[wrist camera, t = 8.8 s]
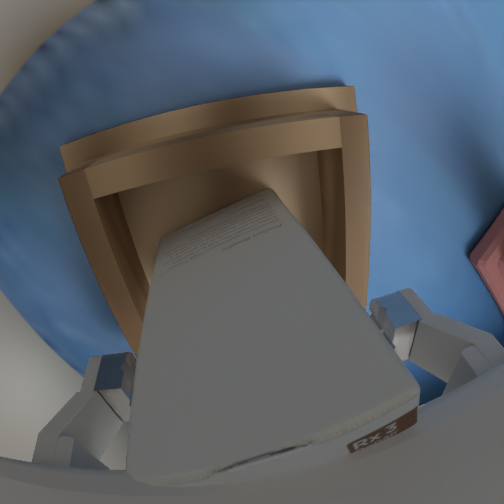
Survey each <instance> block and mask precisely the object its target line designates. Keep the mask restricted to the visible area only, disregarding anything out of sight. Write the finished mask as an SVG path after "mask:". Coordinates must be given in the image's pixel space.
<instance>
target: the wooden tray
mask: <svg viewBox="0 0 504 504" xmlns="http://www.w3.org/2000/svg"><path fill="white" fill-rule="evenodd" d="M59 148H60V151H61V155H62V159H63V162H64V165H65V169H66V172H67V173H65V174H64V175H62V176H61V177H60V178H58V180H59V183H60V186H61V189H62V192H63V195H64V198H65V201H66V204H67V207H68V209H69V212H70V215H71V218H72V220H73V223H74V226H75V228H76V231H77V234H78V236H79V239H80V241H81V244H82V246H83V249H84V251H85V253H86V256H87V258H88V261H89V263H90V265H91V268H92V270H93V272H94V274H95V277H96V279H97V281H98V283H99V285H100V287H101V290H102V292H103V294H104V296H105V298H106V300H107V302H108V304H109V306H110V308H111V310H112V312H113V314H114V316H115V318H116V320H117V322H118V324H119V326H120V328H121V330H122V332H123V334H124V335H125V337H126V339H127V341H128V343H129V345H130V347H131V348H132V350H133V352H134V354H135V355H136V357H137V356H138V350H139V344H140V338H141V332H142V326H143V319H144V314H145V309H146V304H147V298H148V293H149V288H150V284H151V278H152V273H153V269H154V264H155V259H156V255H157V251H158V246H159V242H160V239H161V238H162V237H164V236H166V235H168V234H170V233H172V232H174V231H177V230H179V229H181V228H183V227H185V226H187V225H189V224H191V223H193V222H195V221H197V220H199V219H202V218H204V217H206V216H208V215H210V214H212V213H214V212H216V211H219V210H221V209H223V208H225V207H227V206H229V205H232V204H234V203H236V202H238V201H240V200H243V199H245V198H247V197H249V196H252V195H254V194H256V193H258V192H260V191H263V190H265V189H267V188H271V189H273V190H274V191H275V193H276V194H277V195H278V196H279V198H280V199H281V200H282V202H283V203H284V204H285V205H286V207H287V208H288V209H289V210H290V212H291V213H292V214H293V215H294V217H295V218H296V219H297V220H298V222H299V223H300V224H301V225H302V227H303V228H304V229H305V230H306V232H307V233H308V234H309V235H310V237H311V238H312V239H313V241H314V242H315V243H316V244H317V246H318V247H319V248H320V250H321V251H322V252H323V254H324V255H325V256H326V258H327V259H328V260H329V262H330V263H331V264H332V266H333V267H334V268H335V270H336V271H337V272H338V274H339V275H340V276H341V278H342V279H343V280H344V282H345V283H346V284H347V286H348V287H349V288H350V290H351V291H352V292H353V294H354V295H355V297H356V298H357V299H358V301H359V302H360V303H361V305H362V306H363V308H364V309H365V310H366V304H367V291H368V276H369V257H370V224H371V185H370V152H369V134H368V119H367V115H366V114H362V113H357V108H356V98H355V88H354V86H338V87H322V88H309V89H298V90H289V91H280V92H272V93H264V94H257V95H250V96H244V97H238V98H232V99H226V100H221V101H215V102H210V103H205V104H200V105H196V106H191V107H187V108H182V109H178V110H174V111H170V112H165V113H162V114H158V115H154V116H150V117H146V118H143V119H139V120H136V121H132V122H129V123H125V124H122V125H119V126H116V127H112V128H109V129H106V130H103V131H100V132H97V133H94V134H91V135H88V136H86V137H83V138H80V139H77V140H75V141H72V142H69V143H67V144H64V145H62V146H60V147H59Z"/></svg>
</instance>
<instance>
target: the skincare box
mask: <svg viewBox="0 0 504 504" xmlns="http://www.w3.org/2000/svg"><path fill="white" fill-rule="evenodd" d="M419 396H420V387H419V385H418V383H417V381H416V380H415V378H414V377H413V376H412V374H411V373H410V371H409V370H408V369H407V367H406V366H405V364H404V363H403V361H402V360H401V359H400V357H399V356H398V354H397V353H396V352H395V350H394V349H393V348H392V346H391V345H390V343H389V342H388V341H387V339H386V338H385V336H384V335H383V334H382V332H381V331H380V330H379V328H378V327H377V325H376V324H375V323H374V321H373V320H372V319H371V317H370V316H369V314H368V313H367V312H366V310H365V309H364V308H363V306H362V305H361V303H360V302H359V301H358V299H357V298H356V297H355V295H354V294H353V292H352V291H351V290H350V288H349V287H348V286H347V284H346V283H345V282H344V280H343V279H342V278H341V276H340V275H339V274H338V272H337V271H336V270H335V268H334V267H333V266H332V264H331V263H330V262H329V260H328V259H327V258H326V256H325V255H324V254H323V252H322V251H321V250H320V248H319V247H318V246H317V244H316V243H315V242H314V241H313V239H312V238H311V237H310V235H309V234H308V233H307V232H306V230H305V229H304V228H303V227H302V225H301V224H300V223H299V222H298V220H297V219H296V218H295V217H294V215H293V214H292V213H291V212H290V210H289V209H288V208H287V207H286V205H285V204H284V203H283V202H282V200H281V199H280V198H279V196H278V195H277V194H276V193H275V191H274V190H273V189H271V188H267V189H265V190H263V191H260V192H258V193H256V194H254V195H252V196H249V197H247V198H245V199H243V200H240V201H238V202H236V203H234V204H232V205H229V206H227V207H225V208H223V209H221V210H219V211H216V212H214V213H212V214H210V215H208V216H206V217H204V218H202V219H199V220H197V221H195V222H193V223H191V224H189V225H187V226H185V227H183V228H181V229H179V230H177V231H174V232H172V233H170V234H168V235H166V236H164V237H162V238H161V239H160V242H159V246H158V251H157V255H156V259H155V264H154V269H153V273H152V278H151V284H150V288H149V293H148V298H147V304H146V309H145V314H144V319H143V326H142V332H141V338H140V344H139V350H138V356H137V363H136V369H135V377H134V386H133V394H132V401H131V411H130V423H129V433H128V444H127V456H126V470H125V471H126V472H127V473H128V474H130V475H131V476H132V477H133V478H134V480H136V481H140V482H143V483H146V484H149V485H153V486H161V487H189V486H203V485H213V484H221V483H229V482H237V481H244V480H250V479H256V478H261V477H266V476H271V475H276V474H281V473H285V472H290V471H294V470H298V469H302V468H306V467H309V466H313V465H316V464H320V463H323V462H326V461H330V460H333V459H336V458H339V457H342V456H345V455H348V454H351V453H353V452H356V451H359V450H362V449H364V448H367V447H369V446H372V445H374V444H376V443H379V442H381V441H383V440H386V439H388V438H390V437H392V436H394V435H397V434H399V433H401V432H403V431H405V430H407V429H409V428H411V427H413V426H415V425H416V424H417V422H418V411H419Z"/></svg>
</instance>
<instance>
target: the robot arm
mask: <svg viewBox="0 0 504 504" xmlns="http://www.w3.org/2000/svg"><path fill="white" fill-rule="evenodd" d="M369 309H370V310H371V312H372V314H371V316H370V317H371V319H372V320H373V321H374V323H375V324H376V325H377V327H378V328H379V330H380V331H381V332H382V334H383V335H384V336H385V338H386V339H387V341H388V342H389V343H390V345H391V346H392V348H393V349H394V350H395V352H396V353H397V354H398V356H399V357H400V359H401V360H402V361H404V360H406V359H409V360H410V361H412V362H413V363H415V364H417V365H418V366H420V367H422V368H423V369H425V370H427V371H428V372H430V373H432V374H433V375H435V376H437V377H438V378H440V379H442V380H443V381H445V382H447V383H448V384H447V386H446V388H445V390H444V392H443V394H442V396H441V397H439V398H436V399H434V400H432V401H430V402H428V403H426V404H424V405H422V406H419V411H418V422H417V424H416V425H415V426H413V427H411V428H409V429H407V430H405V431H403V432H401V433H399V434H397V435H394V436H392V437H390V438H388V439H386V440H383V441H381V442H379V443H376V444H374V445H372V446H369V447H367V448H364V449H362V450H359V451H356V452H353V453H351V454H348V455H345V456H342V457H339V458H336V459H333V460H330V461H326V462H323V463H320V464H316V465H313V466H309V467H306V468H302V469H298V470H294V471H290V472H285V473H281V474H276V475H271V476H266V477H261V478H256V479H250V480H244V481H237V482H229V483H221V484H213V485H203V486H189V487H161V486H153V485H149V484H146V483H143V482H140V481H136V480H134V478H133V477H132V476H131V475H130V474H128V473H127V472H126V471H125V470H110V469H109V468H108V467H107V466H105V465H104V464H103V463H102V462H100V461H99V460H100V458H101V457H102V455H103V454H104V452H105V450H106V449H107V447H108V446H109V444H110V443H111V441H112V439H113V438H114V436H115V435H116V433H117V432H118V430H119V428H120V427H121V425H122V424H123V422H124V421H130V411H131V401H132V394H133V386H134V377H135V369H136V365H135V363H136V359H135V357H134V355H133V354H132V353H130V352H126V353H117V354H108V355H101V356H92V357H91V358H90V359H89V362H88V365H87V369H86V373H85V376H84V380H83V384H82V387H81V391H80V392H77V393H76V394H75V395H74V396H73V397H72V398H71V399H70V400H69V401H68V402H67V403H66V404H65V406H64V407H63V408H62V409H61V410H60V411H59V412H58V413H57V414H56V415H55V416H54V417H53V419H52V420H51V421H50V422H49V423H48V424H47V425H46V426H45V427H44V428H43V429H42V430H41V431H40V433H39V434H38V438H37V442H36V446H35V450H34V454H33V459H32V462H26V461H21V460H15V459H10V458H6V457H1V456H0V504H504V348H503V347H502V346H501V344H500V343H499V342H498V341H497V340H496V339H495V337H494V336H493V335H492V334H490V333H487V332H485V331H482V330H480V329H477V328H474V327H472V326H469V325H467V324H464V323H461V322H459V321H456V320H454V319H451V318H448V317H446V316H443V315H440V314H434V313H433V312H432V311H431V310H430V309H429V308H428V306H427V305H426V304H425V303H424V302H423V301H422V300H421V299H420V297H419V296H418V295H417V294H416V293H415V292H414V291H413V290H412V289H411V288H406V289H403V290H400V291H397V292H395V293H391V294H388V295H385V296H382V297H378V298H375V299H372V300H371V302H370V308H369Z"/></svg>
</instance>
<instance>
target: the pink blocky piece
mask: <svg viewBox="0 0 504 504" xmlns="http://www.w3.org/2000/svg"><path fill="white" fill-rule="evenodd" d="M470 261H471V262H472V264H473V266H474V267H475V269H476V270H477V272H478V273H479V275H480V276H481V278H482V280H483V281H484V283H485V284H486V286H487V288H488V289H489V291H490V293H491V294H492V296H493V298H494V300H495V301H496V303H497V305H498V307H499V308H500V310H501V312H502V314H503V315H504V207H503V208H502V210H501V211H500V213H499V214H498V216H497V217H496V218H495V220H494V221H493V223H492V224H491V226H490V227H489V228H488V230H487V231H486V233H485V234H484V235H483V237H482V238H481V239H480V241H479V242H478V243H477V245H476V246H475V247H474V249H473V250H472V251H471V252H470Z"/></svg>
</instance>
